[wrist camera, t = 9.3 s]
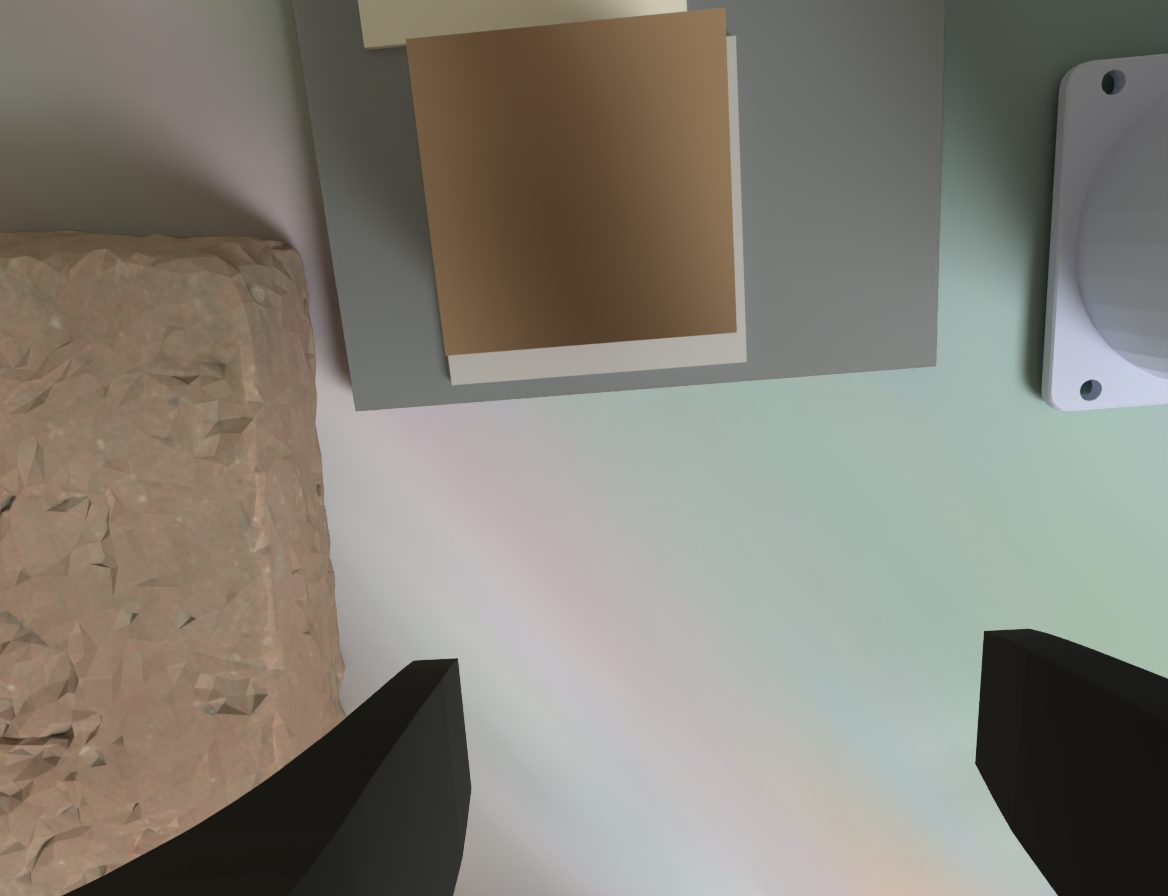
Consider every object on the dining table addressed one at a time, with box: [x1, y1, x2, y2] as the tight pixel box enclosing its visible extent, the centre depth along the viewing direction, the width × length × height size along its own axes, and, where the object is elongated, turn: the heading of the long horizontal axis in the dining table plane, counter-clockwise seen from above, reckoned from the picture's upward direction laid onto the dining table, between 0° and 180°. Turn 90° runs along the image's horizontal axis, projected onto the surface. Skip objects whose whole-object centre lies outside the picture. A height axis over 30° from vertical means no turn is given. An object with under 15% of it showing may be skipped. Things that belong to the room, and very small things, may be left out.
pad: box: [448, 36, 747, 385], centre depth 18 cm, size 7×7×1 cm
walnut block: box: [406, 8, 737, 356], centre depth 15 cm, size 5×5×5 cm
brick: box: [0, 230, 346, 896], centre depth 20 cm, size 17×8×5 cm, turn 0°
